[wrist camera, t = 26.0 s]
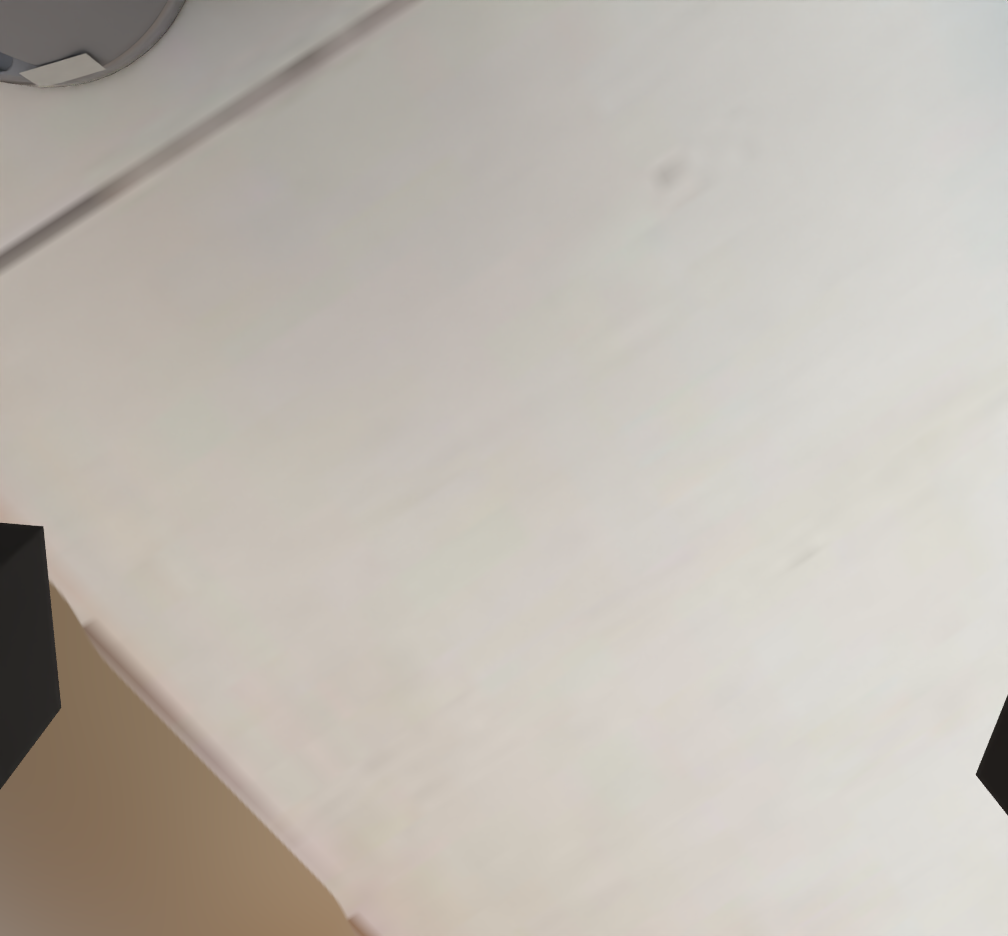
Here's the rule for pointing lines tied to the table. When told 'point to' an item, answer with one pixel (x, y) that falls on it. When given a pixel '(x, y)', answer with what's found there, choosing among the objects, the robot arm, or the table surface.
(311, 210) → the table surface
